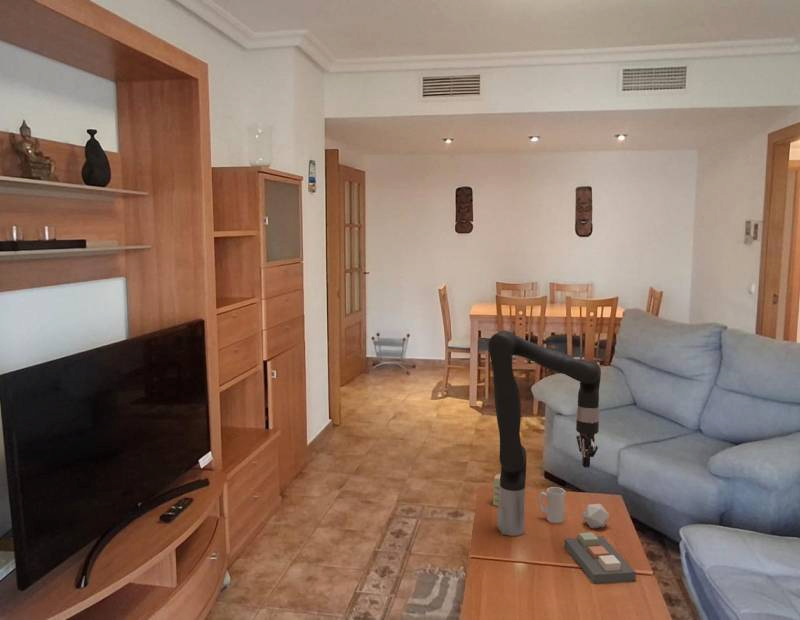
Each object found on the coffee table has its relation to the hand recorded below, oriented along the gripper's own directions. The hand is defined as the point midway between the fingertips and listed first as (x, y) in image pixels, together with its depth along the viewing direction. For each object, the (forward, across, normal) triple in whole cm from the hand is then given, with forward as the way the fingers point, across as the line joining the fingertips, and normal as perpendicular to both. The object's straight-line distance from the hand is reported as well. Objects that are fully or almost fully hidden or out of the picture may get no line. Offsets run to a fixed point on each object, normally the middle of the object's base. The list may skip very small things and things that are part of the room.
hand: (585, 466), depth 214 cm
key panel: (+29, +12, 0) cm, 31 cm away
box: (+29, -36, -17) cm, 49 cm away
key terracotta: (+28, +12, 0) cm, 31 cm away
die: (+29, -14, +11) cm, 34 cm away
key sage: (+28, +4, 0) cm, 28 cm away
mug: (+29, -21, -4) cm, 36 cm away
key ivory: (+28, +20, 0) cm, 34 cm away
